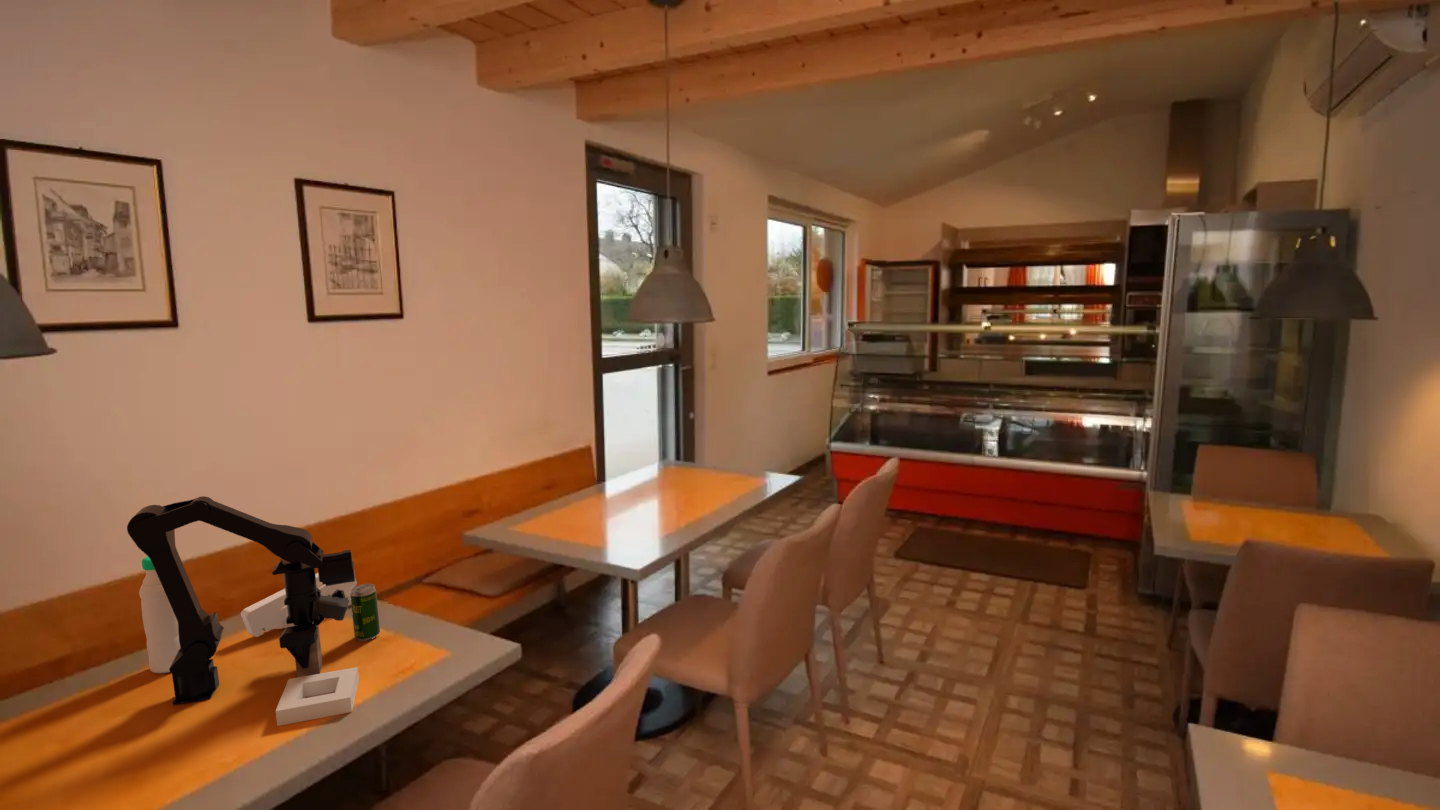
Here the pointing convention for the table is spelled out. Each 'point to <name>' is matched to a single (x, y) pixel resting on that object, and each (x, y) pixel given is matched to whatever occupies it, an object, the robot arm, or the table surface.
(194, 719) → the table surface
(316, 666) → the walnut post
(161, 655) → the water bottle
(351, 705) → the well block
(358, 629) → the beer can
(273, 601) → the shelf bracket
